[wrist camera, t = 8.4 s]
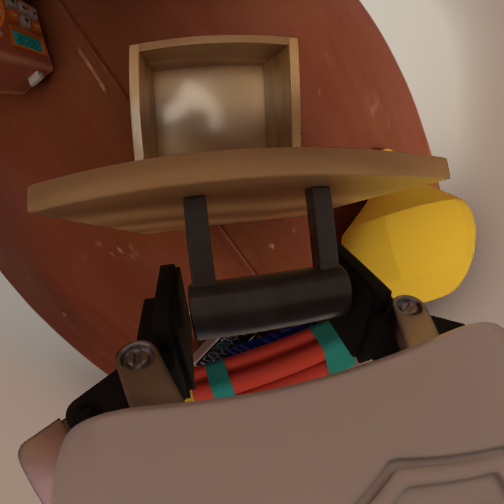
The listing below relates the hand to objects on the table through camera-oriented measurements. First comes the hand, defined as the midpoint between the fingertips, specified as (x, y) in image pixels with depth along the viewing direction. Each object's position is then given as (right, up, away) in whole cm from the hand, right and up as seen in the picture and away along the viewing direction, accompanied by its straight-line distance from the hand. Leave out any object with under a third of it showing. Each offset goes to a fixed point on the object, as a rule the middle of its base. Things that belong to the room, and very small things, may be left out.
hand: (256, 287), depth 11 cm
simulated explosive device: (+6, -13, +21) cm, 25 cm away
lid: (-1, +4, +3) cm, 6 cm away
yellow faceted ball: (+21, -4, +18) cm, 28 cm away
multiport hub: (-5, -12, +31) cm, 33 cm away
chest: (-5, +16, +17) cm, 23 cm away
